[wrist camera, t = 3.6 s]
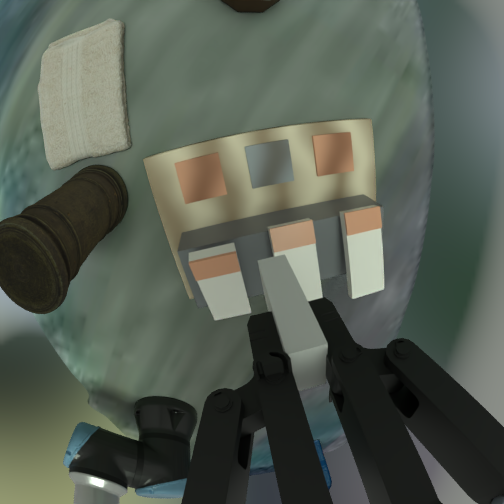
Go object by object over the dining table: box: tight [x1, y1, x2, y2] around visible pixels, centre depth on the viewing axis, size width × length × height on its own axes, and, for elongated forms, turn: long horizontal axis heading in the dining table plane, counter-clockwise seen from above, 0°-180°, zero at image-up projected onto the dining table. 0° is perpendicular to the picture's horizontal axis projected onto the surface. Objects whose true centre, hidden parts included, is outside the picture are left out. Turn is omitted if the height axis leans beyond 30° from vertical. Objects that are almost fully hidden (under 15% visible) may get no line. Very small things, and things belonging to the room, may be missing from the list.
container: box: [0, 165, 127, 314], centre depth 22 cm, size 9×9×18 cm
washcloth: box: [38, 19, 132, 170], centre depth 23 cm, size 12×18×3 cm, turn 4°
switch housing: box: [177, 194, 384, 308], centre depth 33 cm, size 24×8×5 cm, turn 100°
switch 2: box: [339, 205, 384, 299], centre depth 29 cm, size 4×10×2 cm, turn 10°
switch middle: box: [267, 218, 323, 301], centre depth 29 cm, size 4×10×2 cm, turn 10°
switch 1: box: [189, 243, 251, 320], centre depth 29 cm, size 4×10×2 cm, turn 10°
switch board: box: [143, 118, 376, 299], centre depth 33 cm, size 28×20×2 cm
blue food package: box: [314, 440, 332, 489], centre depth 67 cm, size 6×12×25 cm, turn 5°
